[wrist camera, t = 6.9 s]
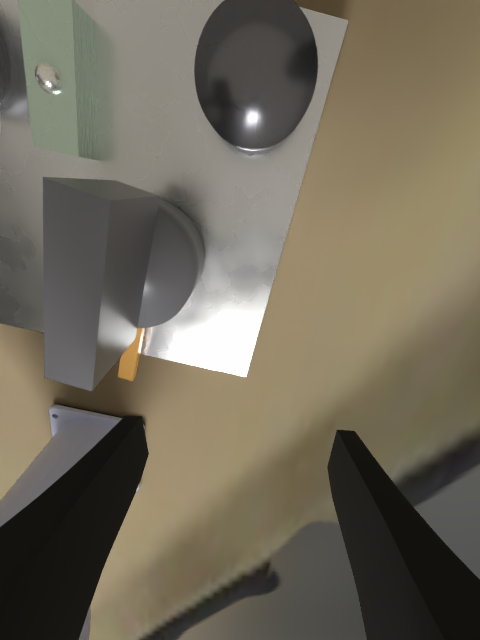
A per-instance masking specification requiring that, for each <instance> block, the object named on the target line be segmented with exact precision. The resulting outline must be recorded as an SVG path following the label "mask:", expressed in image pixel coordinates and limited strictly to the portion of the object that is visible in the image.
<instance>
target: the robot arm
mask: <svg viewBox="0 0 480 640" xmlns="http://www.w3.org/2000/svg"><path fill="white" fill-rule="evenodd" d="M49 414H50V422H51V429H52V436H53V437H52V439H51V440H50V441H49V442H48V444H47V445H46V446H45V447H44V448H43V450H42V451H41V452H40V453H39V454H38V456H37V457H36V458H35V459H34V461H33V462H32V463H31V464H30V465H29V467H28V468H27V469H26V470H25V471H24V473H23V474H22V475H21V476H20V478H19V479H18V480H17V481H16V482H15V484H14V485H13V486H12V487H11V488H10V490H9V491H8V492H7V493H6V494H5V496H4V497H3V498H2V499H1V501H0V640H89V635H90V620H91V609H90V604H91V601H92V599H93V596H94V593H95V590H96V587H97V584H98V581H99V578H100V576H101V573H102V570H103V568H104V565H105V563H106V560H107V557H108V555H109V553H110V550H111V548H112V546H113V543H114V541H115V539H116V537H117V534H118V532H119V530H120V527H121V525H122V523H123V520H124V518H125V516H126V514H127V511H128V509H129V507H130V504H131V502H132V500H133V497H134V495H135V493H136V491H138V490H139V487H140V480H141V477H142V474H143V471H144V468H145V464H146V461H147V458H148V454H149V453H148V448H147V442H146V437H145V426H144V424H143V421H142V417H141V416H125V417H124V418H119V417H114V416H109V415H104V414H99V413H94V412H90V411H85V410H80V409H75V408H70V407H66V406H61V405H52V406H51V408H50V409H49ZM328 474H329V480H330V486H331V492H332V498H333V502H334V506H335V509H336V513H337V517H338V521H339V524H340V528H341V531H342V535H343V539H344V542H345V546H346V550H347V554H348V557H349V560H350V564H351V568H352V572H353V575H354V580H355V584H356V588H357V592H358V596H359V601H360V606H361V612H362V617H363V622H364V627H365V632H366V637H367V640H480V579H479V578H478V577H477V576H476V575H475V574H473V572H472V571H470V569H469V568H468V567H467V566H466V565H465V564H464V563H463V562H462V561H461V560H460V559H459V558H458V557H457V556H456V555H455V554H454V553H453V551H451V549H450V548H449V547H448V546H447V545H446V544H445V543H444V542H443V541H442V540H441V538H440V537H439V536H438V535H437V534H436V533H435V532H434V531H433V529H432V528H431V527H430V526H429V525H428V524H427V523H426V521H425V520H424V519H423V518H422V517H421V516H420V514H419V513H418V512H417V511H416V510H415V509H414V507H413V506H412V505H411V504H410V503H409V501H408V500H407V499H406V498H405V496H404V495H403V494H402V493H401V491H400V490H399V489H398V488H397V486H396V485H395V484H394V483H393V481H392V480H391V479H390V478H389V476H388V475H387V474H386V473H385V471H384V470H383V469H382V467H381V466H380V465H379V463H378V462H377V461H376V459H375V458H374V457H373V455H372V454H371V453H370V451H369V450H368V449H367V447H366V446H365V444H364V443H363V442H362V440H361V439H360V438H359V436H358V435H357V434H356V432H355V431H347V430H337V432H336V436H335V440H334V443H333V447H332V451H331V455H330V459H329V463H328Z"/></svg>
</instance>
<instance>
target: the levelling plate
mask: <svg viewBox="0 0 480 640" xmlns="http://www.w3.org/2000/svg"><path fill="white" fill-rule="evenodd" d="M348 21H349V20H345V19H342V18H338V17H335V16H331V15H327V14H324V13H320V12H316V11H313V10H309V9H306V8H302V7H299V6H298V5H297V4H296V3H295V2H294V1H293V0H0V323H1V324H6V325H10V326H15V327H20V328H24V329H29V330H33V331H38V332H42V333H44V273H43V177H56V178H77V179H98V180H116V181H119V182H122V183H125V184H127V185H130V186H133V187H136V188H139V189H142V190H144V191H147V192H150V193H153V194H156V195H159V196H160V199H163V200H165V201H167V202H169V203H171V204H173V205H174V206H176V207H177V208H178V209H180V210H181V211H182V212H183V213H184V214H185V215H186V216H187V217H188V218H189V219H190V221H191V222H192V223H193V225H194V226H195V228H196V229H197V231H198V234H199V236H200V238H201V241H202V244H203V249H204V268H203V273H202V276H201V279H200V281H199V282H198V284H197V286H196V288H195V289H194V291H193V292H192V294H191V295H190V297H189V299H188V300H187V302H186V303H185V305H184V306H183V308H182V309H181V310H180V311H179V313H178V314H177V315H176V316H174V317H173V318H172V319H170V320H169V321H167V322H165V323H163V324H161V325H158V326H154V327H150V328H145V331H144V336H143V342H142V347H141V352H140V354H143V355H148V356H153V357H157V358H162V359H166V360H171V361H176V362H180V363H185V364H189V365H194V366H199V367H203V368H208V369H212V370H217V371H221V372H226V373H231V374H235V375H240V376H244V377H246V374H247V371H248V367H249V364H250V360H251V357H252V353H253V350H254V346H255V343H256V339H257V336H258V332H259V329H260V326H261V322H262V319H263V315H264V312H265V308H266V305H267V301H268V298H269V294H270V291H271V287H272V284H273V281H274V277H275V274H276V270H277V267H278V263H279V260H280V256H281V253H282V249H283V246H284V242H285V239H286V236H287V232H288V229H289V225H290V222H291V218H292V215H293V211H294V208H295V204H296V201H297V197H298V194H299V191H300V187H301V184H302V180H303V177H304V173H305V170H306V166H307V163H308V159H309V156H310V152H311V149H312V146H313V142H314V139H315V135H316V132H317V128H318V125H319V121H320V118H321V114H322V111H323V107H324V104H325V101H326V97H327V94H328V90H329V87H330V83H331V80H332V76H333V73H334V69H335V66H336V62H337V59H338V56H339V52H340V49H341V45H342V42H343V38H344V35H345V31H346V28H347V24H348Z"/></svg>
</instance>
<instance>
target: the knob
mask: <svg viewBox="0 0 480 640" xmlns="http://www.w3.org/2000/svg"><path fill="white" fill-rule="evenodd" d="M203 268H204V249H203V244H202V241H201V238H200V236H199V234H198V231H197V229H196V228H195V226H194V225H193V223H192V222H191V221H190V219H189V218H188V217H187V216H186V215H185V214H184V213H183V212H182V211H181V210H180V209H178V208H177V207H176V206H174V205H173V204H171V203H169V202H167V201H165V200H163V199H160V196H159V195H156V194H153V193H150V192H147V191H144V190H142V189H139V188H136V187H133V186H130V185H127V184H125V183H122V182H119V181H116V180H98V179H77V178H56V177H43V273H44V378H46V379H50V380H53V381H57V382H60V383H64V384H67V385H71V386H74V387H78V388H81V389H85V390H88V391H93V390H94V389H95V387H96V386H97V385H98V384H99V383H100V381H101V380H102V379H103V378H104V376H105V375H106V374H107V373H108V372H109V370H110V369H111V368H112V367H113V365H114V364H115V363H116V362H117V361H118V359H119V358H120V357H121V358H120V364H119V371H118V377H119V378H123V379H126V380H129V381H133V380H134V378H135V377H136V373H137V368H138V363H139V358H140V352H141V347H142V342H143V336H144V331H145V328H150V327H154V326H158V325H161V324H163V323H165V322H167V321H169V320H170V319H172V318H173V317H174V316H176V315H177V314H178V313H179V311H180V310H181V309H182V308H183V306H184V305H185V303H186V302H187V300H188V299H189V297H190V295H191V294H192V292H193V291H194V289H195V288H196V286H197V284H198V282H199V281H200V279H201V276H202V273H203Z"/></svg>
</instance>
